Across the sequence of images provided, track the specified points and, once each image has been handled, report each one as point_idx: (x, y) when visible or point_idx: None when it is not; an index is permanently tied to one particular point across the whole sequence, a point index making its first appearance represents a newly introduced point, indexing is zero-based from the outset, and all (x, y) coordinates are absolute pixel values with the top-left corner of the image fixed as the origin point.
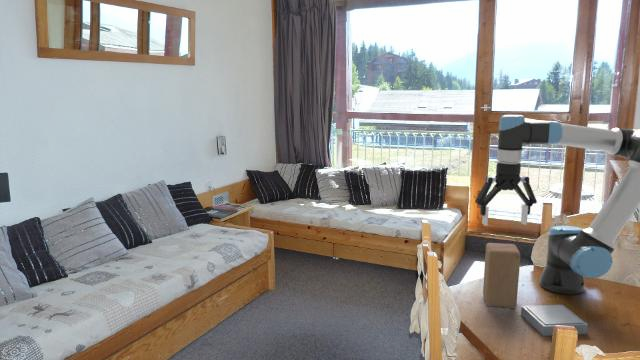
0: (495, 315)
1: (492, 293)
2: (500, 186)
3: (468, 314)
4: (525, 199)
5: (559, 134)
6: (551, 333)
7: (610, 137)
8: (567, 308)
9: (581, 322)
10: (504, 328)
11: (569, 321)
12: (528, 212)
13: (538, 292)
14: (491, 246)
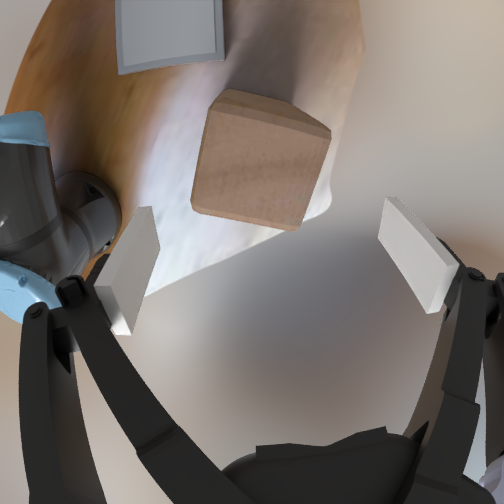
0: (289, 60)
1: (286, 103)
2: (464, 448)
3: (348, 73)
4: (100, 335)
5: None
6: None
7: None
8: (117, 55)
9: None
10: (294, 4)
11: None
12: (105, 262)
13: (136, 180)
14: (305, 182)
